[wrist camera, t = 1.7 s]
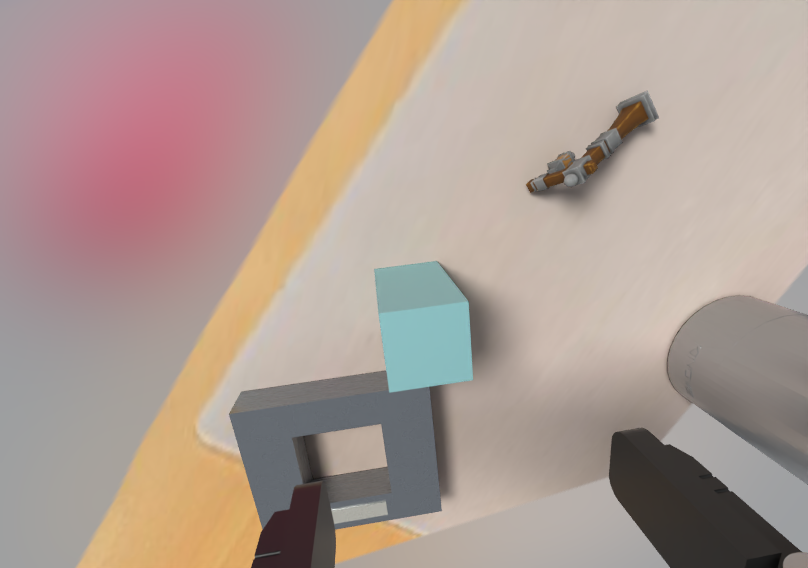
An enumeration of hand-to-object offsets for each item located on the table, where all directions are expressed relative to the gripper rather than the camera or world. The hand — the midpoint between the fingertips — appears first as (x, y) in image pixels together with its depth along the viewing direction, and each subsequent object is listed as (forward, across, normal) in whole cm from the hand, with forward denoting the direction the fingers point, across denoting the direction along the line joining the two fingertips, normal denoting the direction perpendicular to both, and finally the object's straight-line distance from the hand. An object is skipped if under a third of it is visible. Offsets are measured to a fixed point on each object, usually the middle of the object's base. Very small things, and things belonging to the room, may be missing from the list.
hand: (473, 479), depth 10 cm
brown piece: (+16, -12, -8) cm, 22 cm away
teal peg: (+16, 0, 0) cm, 16 cm away
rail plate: (+16, +6, +11) cm, 20 cm away
